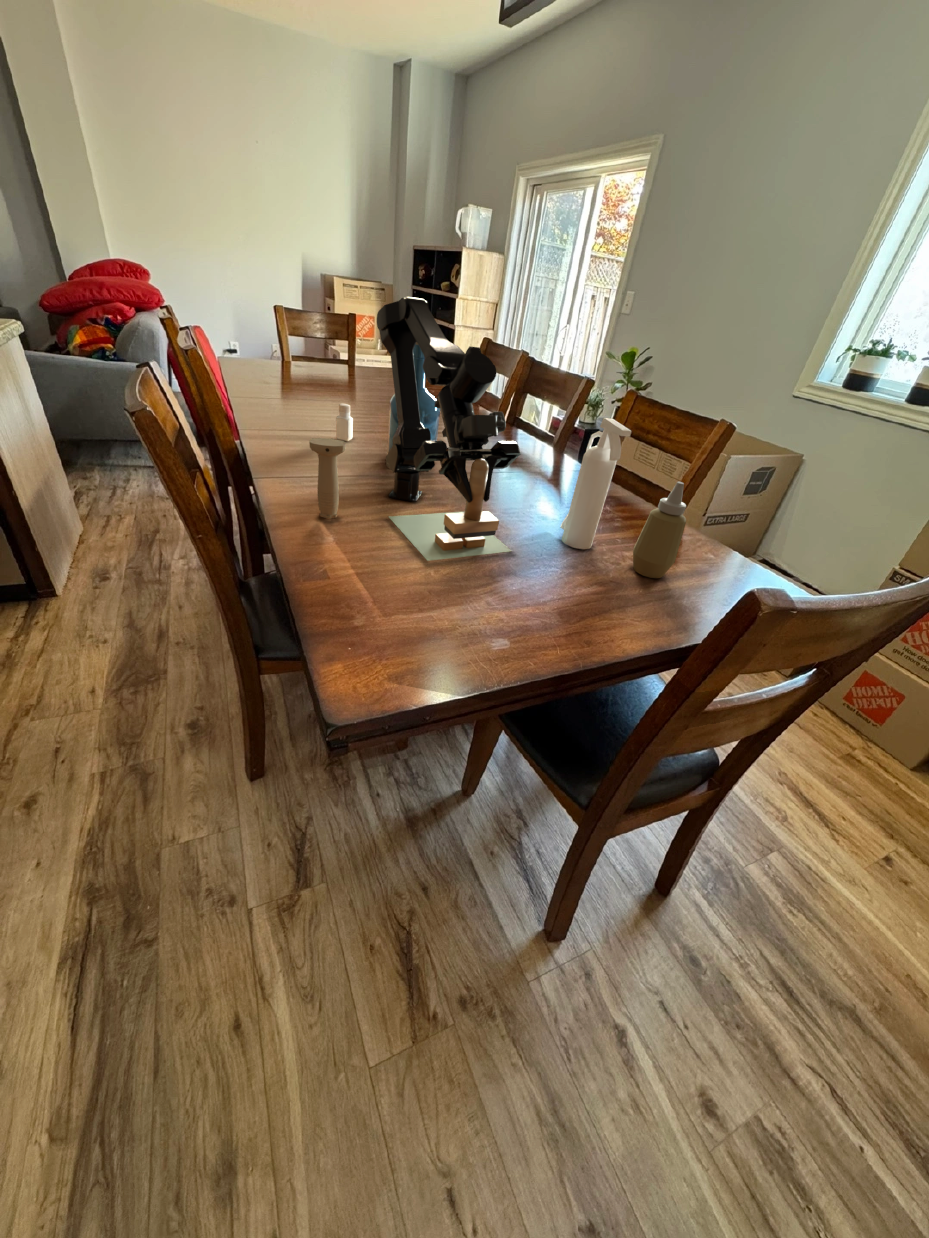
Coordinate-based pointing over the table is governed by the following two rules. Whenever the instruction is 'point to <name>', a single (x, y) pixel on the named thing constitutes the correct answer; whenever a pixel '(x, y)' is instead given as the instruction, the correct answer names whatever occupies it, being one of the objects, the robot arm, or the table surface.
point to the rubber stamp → (473, 509)
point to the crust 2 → (473, 542)
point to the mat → (427, 525)
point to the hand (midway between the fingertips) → (478, 501)
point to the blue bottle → (425, 401)
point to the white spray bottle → (593, 485)
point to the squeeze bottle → (661, 536)
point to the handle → (327, 474)
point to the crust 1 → (448, 542)
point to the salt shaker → (344, 423)
